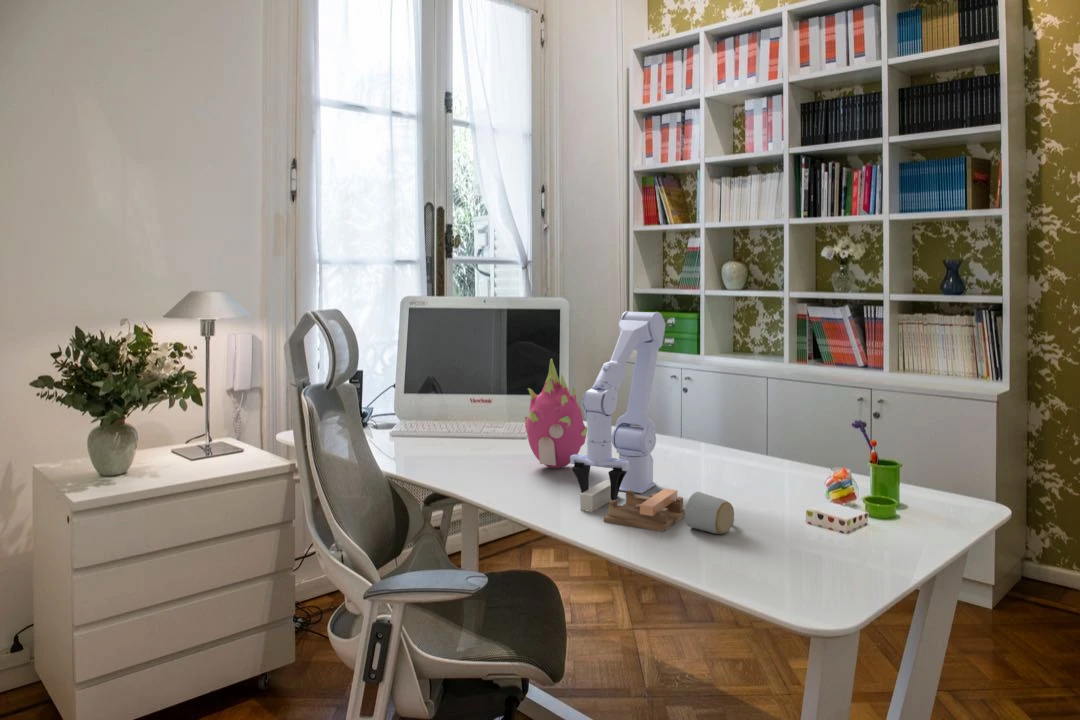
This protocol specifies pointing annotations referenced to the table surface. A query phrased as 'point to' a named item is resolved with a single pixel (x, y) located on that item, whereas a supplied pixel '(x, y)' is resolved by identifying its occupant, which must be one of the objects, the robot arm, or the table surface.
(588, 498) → the pale grey bar
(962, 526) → the table surface
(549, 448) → the pink dragon fruit
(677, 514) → the slotted wooden stand
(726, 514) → the grey cylinder
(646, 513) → the fired strip
